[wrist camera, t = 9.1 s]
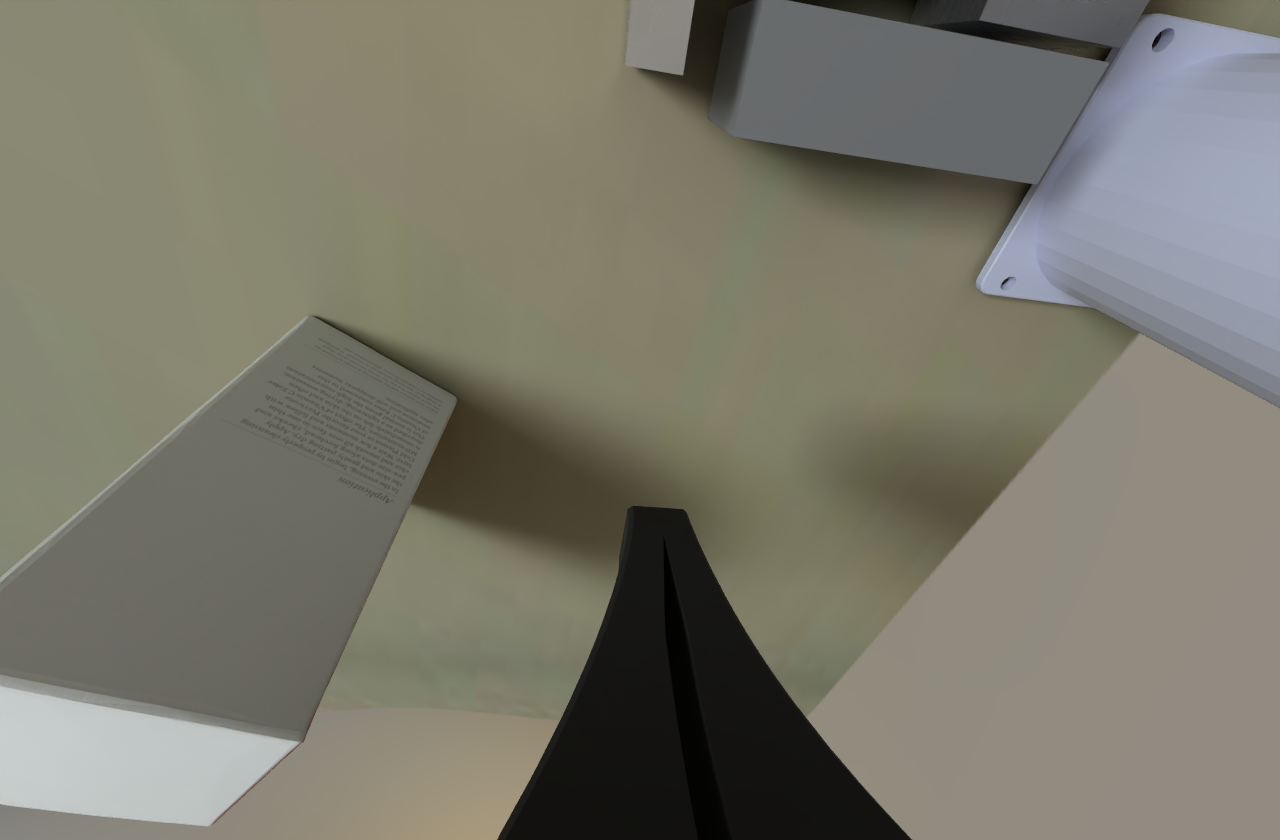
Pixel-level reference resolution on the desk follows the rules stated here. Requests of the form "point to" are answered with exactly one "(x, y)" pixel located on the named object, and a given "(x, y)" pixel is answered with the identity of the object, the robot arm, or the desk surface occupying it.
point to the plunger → (961, 3)
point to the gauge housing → (895, 90)
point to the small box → (211, 588)
